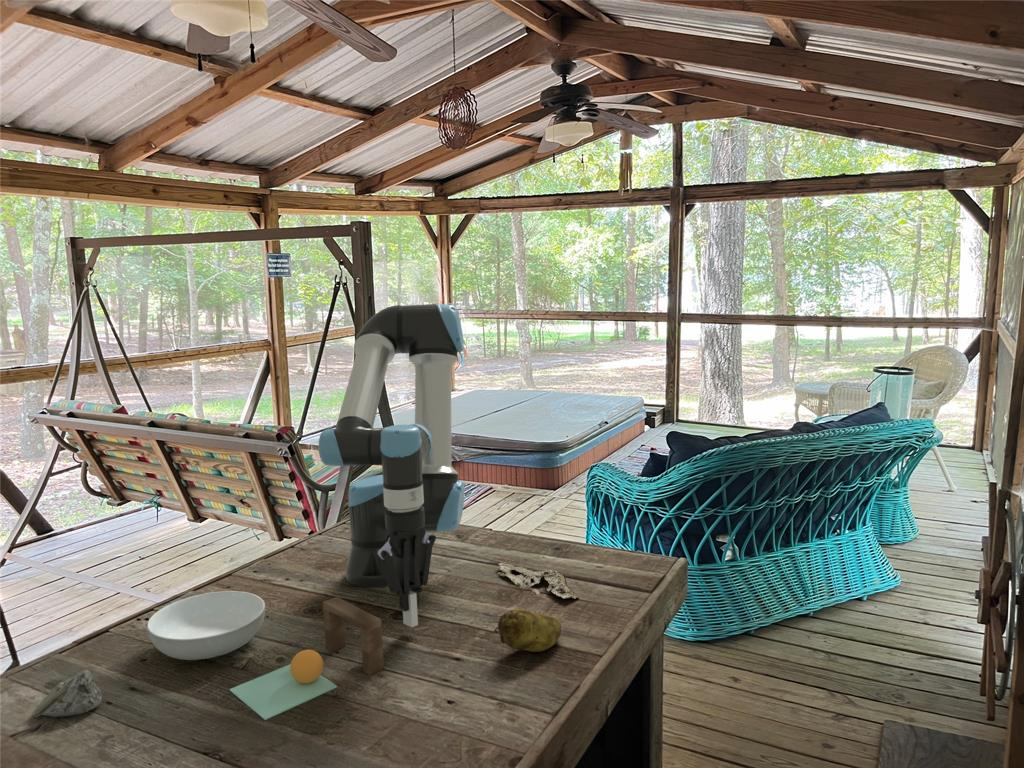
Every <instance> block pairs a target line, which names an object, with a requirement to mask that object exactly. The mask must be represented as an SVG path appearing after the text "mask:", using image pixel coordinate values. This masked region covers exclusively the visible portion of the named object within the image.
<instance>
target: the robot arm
mask: <svg viewBox="0 0 1024 768" xmlns="http://www.w3.org/2000/svg"><path fill="white" fill-rule="evenodd" d="M464 346H465V345H464V334H463V328H462V323H461V319H460V314H459V311H458V308H457V307H456V306H454V305H453V304H445V303H444V304H443V303H442V304H441V303H429V304H411V305H409V304H405V305H404V304H403V305H401V304H399V305H398V304H397V305H395V304H394V305H392V306H389V307H386V308H383V309H381V310H379V311H377V312H376V313H375V314H373V316H371V317H370V318H369V319H368V320H367V321H366V322H365V323H364V324H363V326H362V327H361V329H360V330H359V332H358V333H357V334H356V338H355V342H354V345H353V352H354V354H355V358H354V361H353V363H352V364H353V365H352V368H351V370H350V371H351V372H350V375H349V379H348V383H347V386H346V389H345V394H344V397H343V401H342V404H341V408H340V412H339V413H338V414H339V415H338V417H337V421H336V425H335V427H334V428H333V427H331V428H329V429H327V428H326V429H323V430H322V432H321V433H320V435H319V438H318V454H319V459H320V461H321V463H322V464H324V465H325V466H332V467H333V466H334V467H342V468H343V467H352V466H353V467H354V466H381V471H382V474H378V475H373V476H367V477H366V478H363V479H359V480H357V481H356V482H354V483H352V485H351V486H350V487H349V488H348V503H347V506H348V514H349V517H348V518H349V529H350V530H349V531H350V540H351V541H350V543H351V545H350V550H349V554H348V558H347V563H346V565H345V571H344V572H345V580H346V582H347V583H349V584H350V585H353V586H357V587H361V588H362V587H363V588H378V587H384V586H387V587H388V591H389V592H390V593H392V594H394V595H396V596H398V600H399V604H398V605H399V609H400V610H401V611H402V619H403V620H402V621H403V625H406V626H408V627H409V628H414V627H416V626H418V625H419V616H418V614H419V613H418V607H419V606H420V594H421V593H422V592H423V590H424V588H422V587H423V586H427V584H428V582H429V573H430V566H431V559H432V551H433V546H434V544H435V542H436V539H437V537H436V535H434V534H433V533H443V532H444V533H445V532H453V531H455V530H457V529H458V528H459V526H460V524H461V521H462V517H463V511H464V507H465V506H464V505H465V497H466V496H465V494H466V492H465V488H466V487H465V482H464V481H463V480H461V479H459V472H458V471H457V470H456V469H455V468H454V467H453V466H452V366H453V365H454V364H455V363H456V362H457V361H458V354H460V353H462V352H464V349H465V347H464ZM396 354H408V361H409V362H411V363H412V364H413V365H414V373H415V374H414V375H415V377H414V379H415V380H414V382H415V383H414V384H415V385H414V389H415V390H414V423H410V424H396V425H389V426H386V427H374V425H375V420H376V416H377V412H378V407H379V403H380V399H381V395H382V391H383V386H384V382H385V378H386V373H387V370H388V365H389V364H390V363H391V361H393V359H394V358H395V355H396ZM431 533H432V534H431Z"/></svg>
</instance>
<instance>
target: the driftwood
mask: <svg viewBox="0 0 1024 768" xmlns="http://www.w3.org/2000/svg"><path fill="white" fill-rule="evenodd" d="M497 565H498V566H499V568H500V569H499V570H500V571H499V572H497V573H498V575H500V576H501V577H507V578H508V579H510V580H511V581H512V582H513V583H514V584H515V585H516V586H517V587H518V588H522V587H527V586H528V587H529V586H530V587H531V588H532V586H534V585H536V584H540V582H541V578H543V575H545V576H544V580H545V581H547V582H548V584H549V585H548V587H547V588H546V591H547V592H550V591H551V592H552V593H553V594H554V595H556V596H557V597H561V598H562V599H570V598H572V599H578V600H579V599H580V598H579V597H578V596H576V595H574V594H573V593H574V591H573V590H572V589H571V587H569V586H568V583H567V579H566V576H565V575H564V574H563V573H562V572H560V571H558V570H554V569H549V570H537V571H534V570H531V569H528V567H525V566H522V565H520V566H519V565H518V566H515V565H514V564H508V563H503V562H497ZM513 570H514V571H516V572H519V574H518V575H515V574H512V571H513ZM532 580H533V581H532ZM530 587H529V588H530ZM531 591H532V594H534V593H535V594H536V596H538V595H540V593H541V592H540V589H539V588H537V587H534V588H532V590H531ZM537 594H538V595H537Z"/></svg>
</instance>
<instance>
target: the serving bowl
mask: <svg viewBox="0 0 1024 768" xmlns="http://www.w3.org/2000/svg"><path fill="white" fill-rule="evenodd" d="M265 613H266V604H265V601H264V600H263V598H261V597H260V596H258V595H257V594H254V593H251V592H248V591H247V592H246V591H238V590H226V591H225V590H223V591H222V590H221V591H211V592H207V593H202V594H195V595H192V596H188V597H185V598H182V599H179V600H177V601H174V602H172V603H170V604H168V605H165V606H163V607H162V608H160V609H158V611H156V612H155V613H154V614H152V615H151V616H150V618H149V620H148V621H147V624H146V628H147V633H148V636H149V639H150V641H151V643H152V645H154V647H155V649H157V650H158V651H159V652H161V653H162V654H163V655H166V656H167V657H171V658H174V659H177V660H183V661H184V660H186V661H198V660H205V659H207V660H208V659H211V658H216V657H220V656H223V655H227V654H228V653H231V652H233V651H236V650H237V649H239V648H241V647H243V646H244V645H246V644H247V643H248V642H249V641H251V640H252V639H253V638H254V637H255V636H256V634H258V632H259V630H260V628H261V627H262V625H263V623H264V619H265Z"/></svg>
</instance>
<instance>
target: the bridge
mask: <svg viewBox="0 0 1024 768" xmlns="http://www.w3.org/2000/svg"><path fill="white" fill-rule="evenodd" d="M322 608H323V609H322V610H323V622H324V623H323V625H324V638H325V649H326V648H327V649H326V650H328V651H330V652H335V651H336V650H339V649H341V648H343V647H344V648H345V647H346V645H347V644H346V632H345V631H346V630H345V621H346V622H348V623H350V624H352V625H354V626H355V627H358V628H360V640H361V643H360V644H361V656H362V657H361V659H362V671H363V673H365V674H367V675H369V676H370V675H373V674H375V673H377V672H379V671H382V670H384V668H385V667H384V666H385V665H384V662H385V661H384V648H383V636H382V635H383V633H382V632H383V630H382V619H381V618H379V617H377V616H375V615H373V614H371V613H369V612H367V611H365V610H363V609H361V608H360V607H357V606H356V605H354V604H352V603H350V602H347V601H346V600H344V599H342V598H340V597H338V596H335V597H332V598H330V599H327V600H324V601H322ZM334 650H335V651H334Z"/></svg>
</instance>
